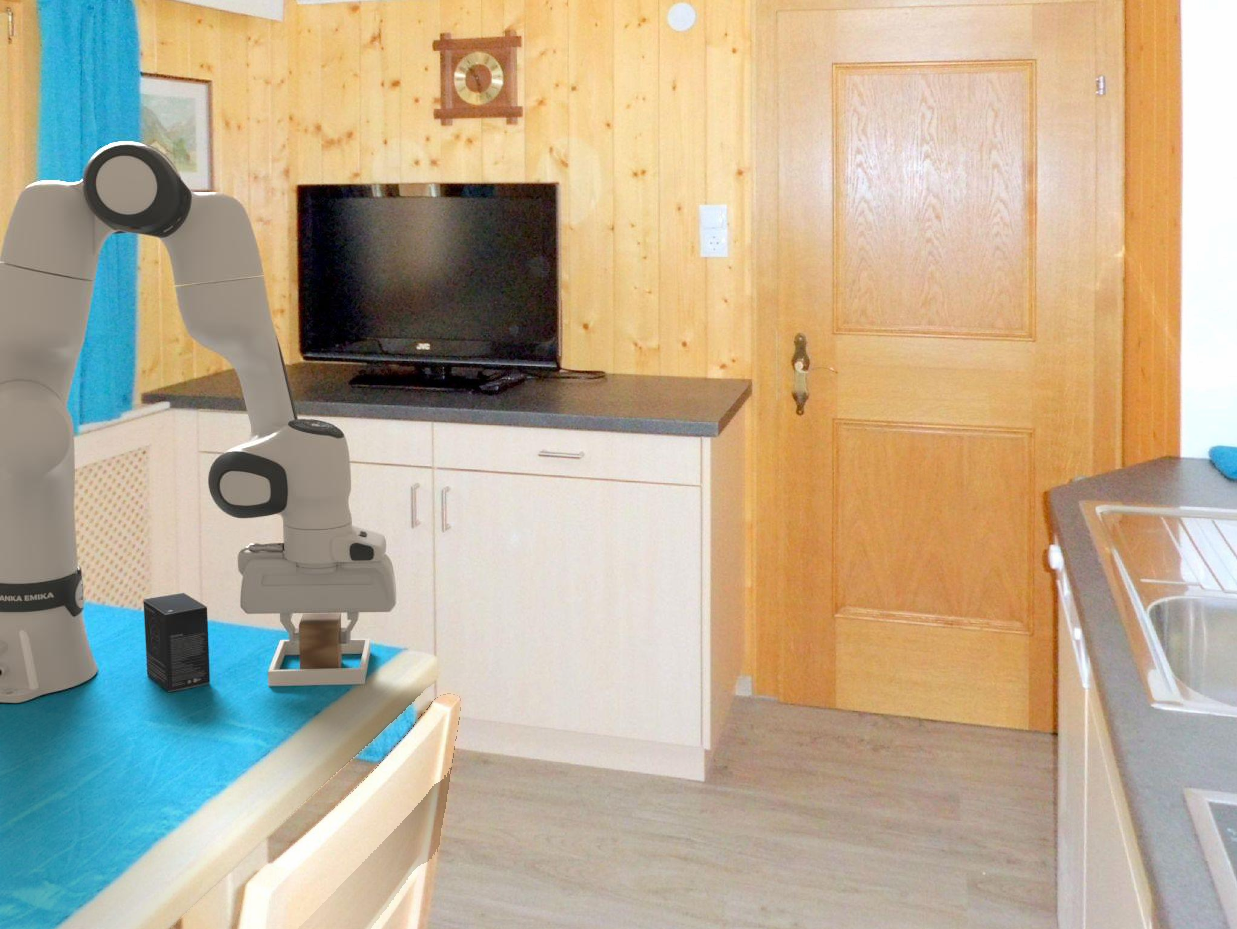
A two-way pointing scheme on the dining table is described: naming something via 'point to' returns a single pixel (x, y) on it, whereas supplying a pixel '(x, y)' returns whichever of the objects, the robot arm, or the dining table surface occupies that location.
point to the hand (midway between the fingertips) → (320, 642)
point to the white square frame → (319, 675)
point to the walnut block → (320, 641)
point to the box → (176, 641)
